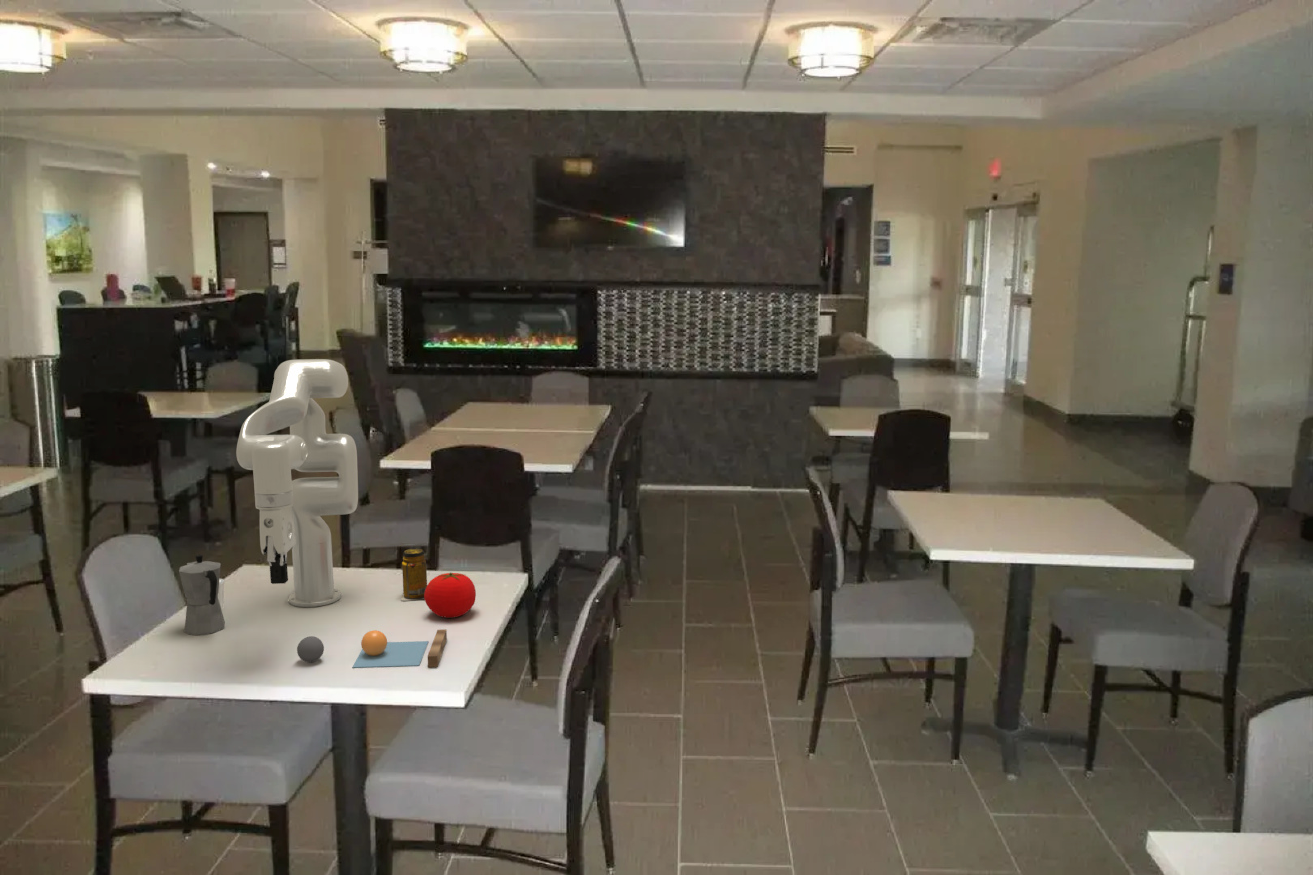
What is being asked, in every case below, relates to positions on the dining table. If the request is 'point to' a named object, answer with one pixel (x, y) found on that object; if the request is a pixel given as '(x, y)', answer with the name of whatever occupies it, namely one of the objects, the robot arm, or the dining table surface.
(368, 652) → the object ball
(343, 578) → the dining table surface
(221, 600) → the shot glass
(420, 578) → the condiment
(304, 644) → the gray sphere
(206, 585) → the coffeepot
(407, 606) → the dining table surface
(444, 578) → the tomato
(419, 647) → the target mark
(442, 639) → the stopper wall
